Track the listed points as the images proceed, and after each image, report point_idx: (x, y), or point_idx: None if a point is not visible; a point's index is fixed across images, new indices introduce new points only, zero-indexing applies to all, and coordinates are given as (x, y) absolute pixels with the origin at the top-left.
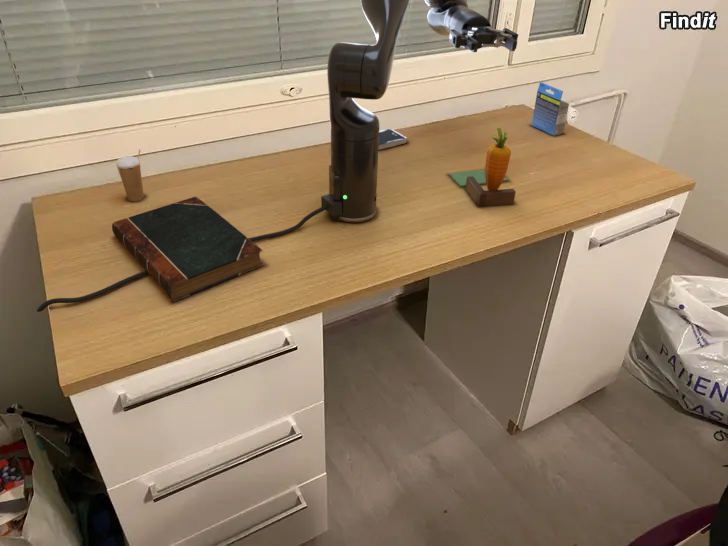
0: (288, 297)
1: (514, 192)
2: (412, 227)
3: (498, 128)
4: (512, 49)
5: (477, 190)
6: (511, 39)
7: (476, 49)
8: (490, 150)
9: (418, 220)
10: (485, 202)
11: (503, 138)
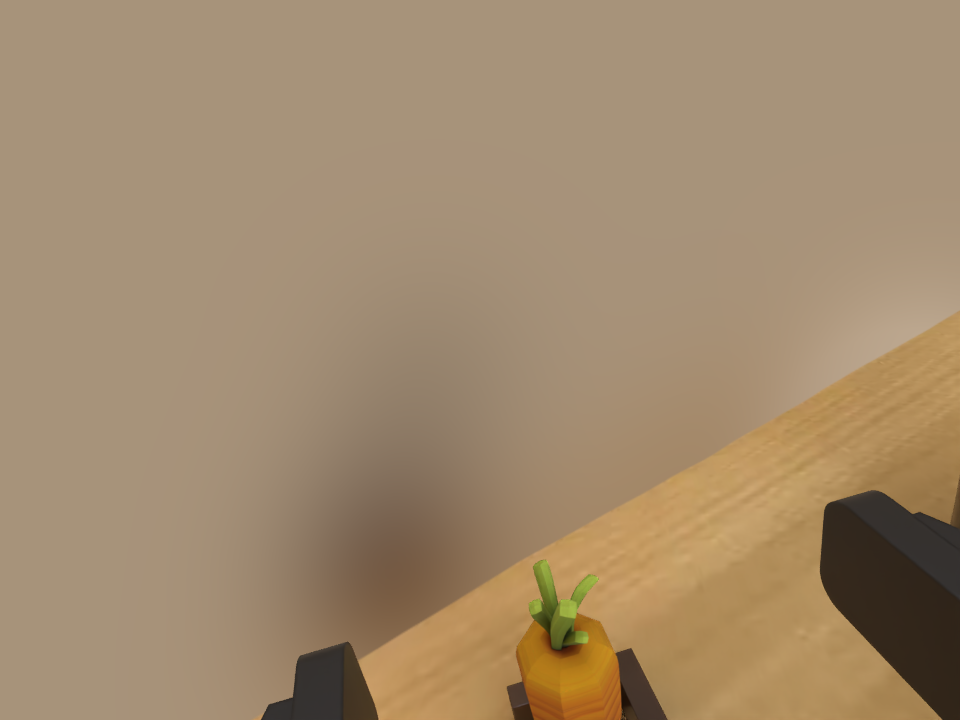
0: (911, 364)
1: (511, 685)
2: (803, 548)
3: (570, 600)
4: (370, 702)
5: (642, 672)
6: (338, 703)
7: (830, 557)
8: (603, 631)
9: (801, 579)
10: None
11: (551, 576)
